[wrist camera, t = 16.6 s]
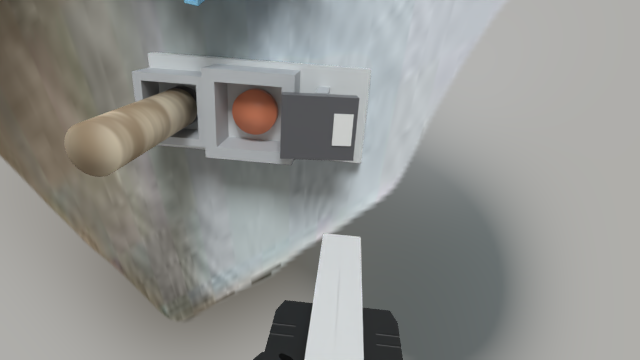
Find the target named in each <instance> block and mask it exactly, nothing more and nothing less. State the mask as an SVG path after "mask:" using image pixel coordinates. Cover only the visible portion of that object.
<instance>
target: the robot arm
mask: <svg viewBox="0 0 640 360" xmlns="http://www.w3.org/2000/svg"><path fill="white" fill-rule="evenodd" d="M253 360H403V358H402V351H401V343H400V338H399V329H398V323H397V321H396V320H395V318H394V317H393V315H392V314H391V312H390V311H388V310H379V309H369V308H362V276H361V239H360V237H355V236H345V235H335V234H325V233H323V240H322V246H321V253H320V260H319V266H318V273H317V279H316V286H315V293H314V299H313V303H305V302H296V301H286V300H285V301H284V302H283V303H282V304H281V305H280V306H279V307H278V309H277V310H276V312H275V316H274V320H273V324H272V327H271V330H270V335H269V338H268V341H267V345H266V349H265V352H262V353H260V354H259V355H258V356H257V357H255V358H254V359H253Z"/></svg>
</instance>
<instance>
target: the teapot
mask: <svg viewBox="0 0 640 360" xmlns="http://www.w3.org/2000/svg"><path fill="white" fill-rule="evenodd" d="M203 1H204V0H184V3H187V4H191V5H196V6H199V5H200V4H201V3H202V2H203Z"/></svg>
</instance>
